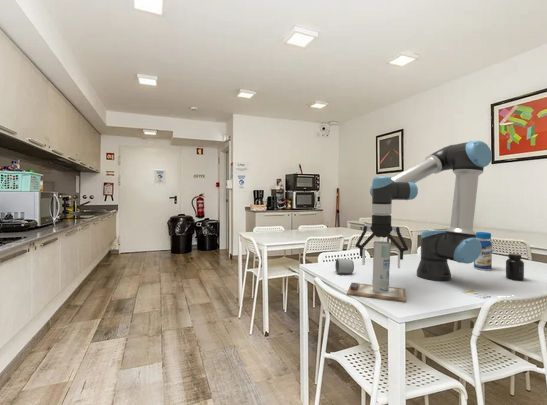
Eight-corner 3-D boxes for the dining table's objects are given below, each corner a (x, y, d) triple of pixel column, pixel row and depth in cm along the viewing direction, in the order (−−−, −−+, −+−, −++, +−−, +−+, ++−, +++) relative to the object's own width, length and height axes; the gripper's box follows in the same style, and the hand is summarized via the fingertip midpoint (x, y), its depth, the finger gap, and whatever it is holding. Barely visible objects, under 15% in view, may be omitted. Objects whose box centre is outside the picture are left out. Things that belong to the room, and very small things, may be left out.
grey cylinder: (354, 275, 148) (354, 259, 148) (338, 275, 148) (338, 260, 148) (348, 270, 159) (348, 255, 159) (333, 270, 158) (333, 255, 158)
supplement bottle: (519, 277, 145) (520, 253, 144) (526, 281, 138) (527, 256, 138) (503, 276, 147) (503, 252, 147) (509, 280, 141) (509, 255, 140)
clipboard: (404, 290, 125) (404, 285, 125) (406, 302, 111) (406, 296, 111) (351, 284, 133) (351, 279, 133) (346, 294, 119) (346, 289, 119)
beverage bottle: (485, 267, 166) (486, 231, 165) (495, 271, 157) (496, 233, 157) (470, 266, 166) (470, 231, 166) (478, 270, 158) (479, 233, 157)
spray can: (382, 294, 117) (384, 244, 116) (368, 289, 122) (370, 241, 121) (392, 291, 121) (394, 243, 120) (378, 286, 126) (379, 240, 125)
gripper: (414, 214, 119) (413, 266, 120) (351, 213, 129) (350, 261, 129) (415, 216, 112) (414, 271, 113) (349, 214, 122) (348, 265, 122)
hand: (380, 266), depth 121 cm, fingers open, 13 cm apart
